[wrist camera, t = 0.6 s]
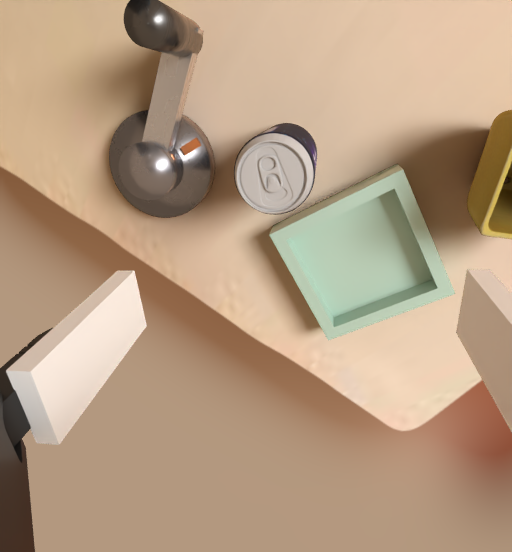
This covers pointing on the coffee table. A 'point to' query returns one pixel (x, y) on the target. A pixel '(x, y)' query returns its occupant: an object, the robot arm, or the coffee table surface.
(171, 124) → the crank
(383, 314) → the tray
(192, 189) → the crank base
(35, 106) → the coffee table surface
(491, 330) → the robot arm
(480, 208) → the flower pot
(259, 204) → the beverage can
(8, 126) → the coffee table surface
